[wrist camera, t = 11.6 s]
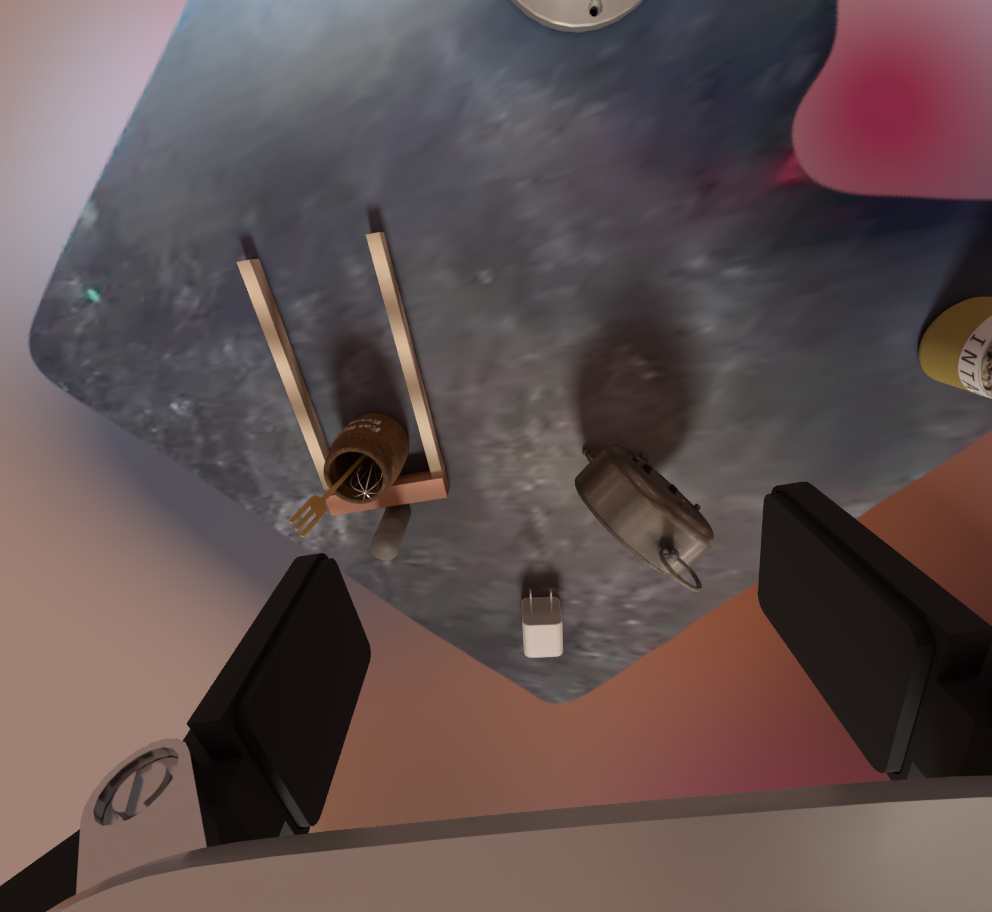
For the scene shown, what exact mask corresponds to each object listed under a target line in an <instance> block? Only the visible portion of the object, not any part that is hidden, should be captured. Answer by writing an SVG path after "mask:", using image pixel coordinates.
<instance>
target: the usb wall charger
mask: <svg viewBox="0 0 992 912" xmlns="http://www.w3.org/2000/svg"><path fill="white" fill-rule="evenodd" d="M521 605H522V625H523V642H524V654H525V655H526V656H527V657H531V658H532V657H557V656H560V655H561V654H562V653H563V630H562V613H561V607H560V601H559V599H558V598H557V597H552V590H551V588H550V597H535V598H532V597H531V589H530V598H524V599H523V600H522V602H521Z"/></svg>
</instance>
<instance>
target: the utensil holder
mask: <svg viewBox="0 0 992 912" xmlns="http://www.w3.org/2000/svg"><path fill="white" fill-rule="evenodd" d="M408 451H409V441H408V437H407V434H406V432H405V430H404V428H403V427H402V426H401V425H400V424H399V423H398V422H397V421H396V420H395V419H393V418H392V417H390V416H388V415H385V414H381V413H366V414H362V415H360V416H358V417H356V418H355V419H353V420H352V421H351V422H350V423H349V424H348V425H347V426H346V427H345V428H344V429H343V430H342V432H341V433H340V434H339V435H338V436H337V438H336V439H335V440H334V442H333V444H332V446H331V448H330V452H329V454H328V456H327V458H326V461H325V464H324V470H323V473H324V479H325V482H326V484H327V486H328V487H329V489H330V490H329V491H328V492H327V493H326V494H325V495H324V496H323V497H322V498H321V497H319V496H316V495H315V496H312V497H311V498H310V499H309V500H308V501H307V502H306V503H305V504H304V505H303V506H302V507H301V508H300V510H299V511H298V512H297V513H296V514H295V515H294V516H293V517H292V518H291V519H290V520H289V522H290V523H291V524H292V523H294V522H295V521H296V520H297V519H298V518H299V516H300V515H301V514H302V513H303V512H304V511H305V510H306V509H307V508H308V507H309V506H311V510H310V511H309V512H308V513H307V514H306V515H305V517H304V518H303V519H302V520H301V521H300V522H299V523H298V524H297V525H296V526H295V530H299V529H300V528H301V527H302V526H303V525H304V524H305V522H306V521H307V520H308V519H309V518H310V517H311V516H312V515H313V514H314V513H316V517H315V518H314V519H313V520H312V521H311V522H310V523H309V525H308V526H307V527H306V528H305V529H304V530H303V531H302V533H301V534H300V535H301V537H304V536H305V535H306V534H307V533H308V532H309V531H310V529H311V528H312V527H313V526H314V525H315V524H316V523H317V522H318V521H319V519H320V518H321V517H322V516H323V515H324V514H325V513H326V512H327V507H326V503H325V502H326V500H327V499H328V498H329V497H330V496H331V494H332V493H334V494H335V495H336V496H337V497H339V498H340V499H342V500H344V501H347V502H350V503H354V504H366V503H370V502H373V501H375V500H377V499H378V498H380V497H381V496H382V495H383V494H384V493H385V492H386V491H387V489H388V488H389V487H390V486H391V485H392V484H393V483H394V482H395V481H396V479H397V478H398V476H399V474H400V472H401V470H402V468H403V465H404V463H405V461H406V458H407V455H408Z"/></svg>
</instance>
